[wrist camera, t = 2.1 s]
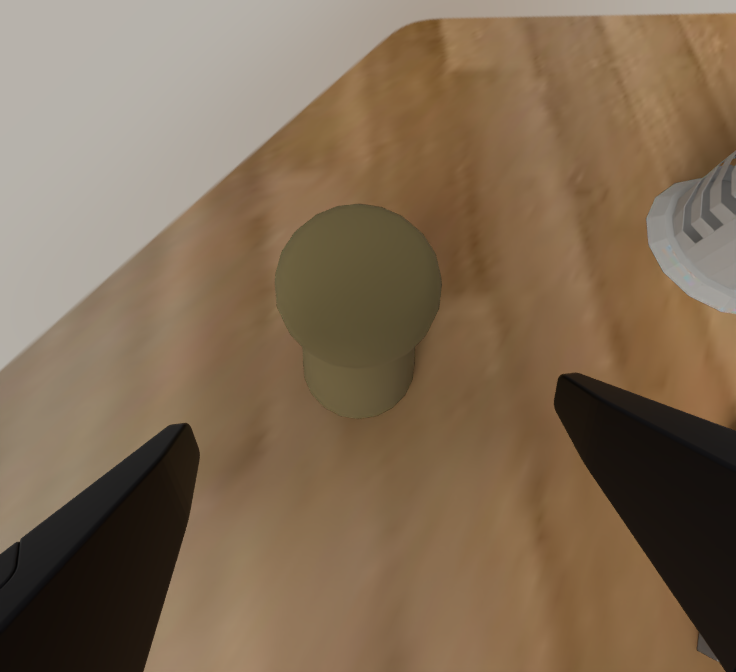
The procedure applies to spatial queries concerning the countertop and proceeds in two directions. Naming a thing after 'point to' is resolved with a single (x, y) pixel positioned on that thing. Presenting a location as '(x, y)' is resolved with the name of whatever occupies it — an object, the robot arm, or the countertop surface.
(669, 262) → the french press
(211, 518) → the countertop surface
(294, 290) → the cork
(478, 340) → the countertop surface
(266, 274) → the countertop surface
